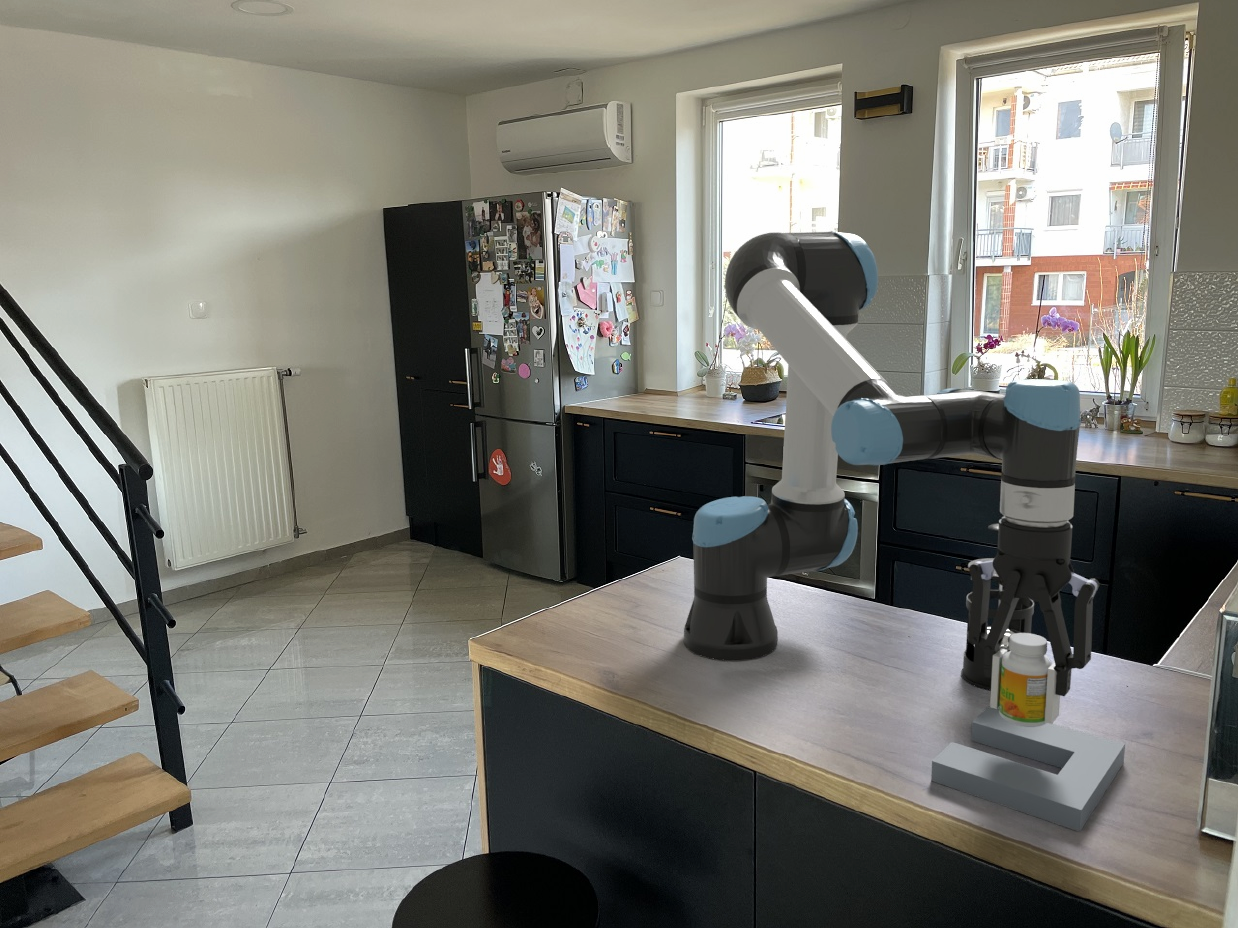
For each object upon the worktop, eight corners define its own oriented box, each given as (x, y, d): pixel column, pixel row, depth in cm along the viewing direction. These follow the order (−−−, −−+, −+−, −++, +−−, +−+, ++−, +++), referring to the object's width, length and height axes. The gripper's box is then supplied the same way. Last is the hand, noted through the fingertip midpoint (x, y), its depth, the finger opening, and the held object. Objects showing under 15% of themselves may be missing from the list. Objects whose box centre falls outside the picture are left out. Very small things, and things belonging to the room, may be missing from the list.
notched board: (931, 780, 106) (932, 760, 105) (987, 723, 119) (988, 705, 118) (1079, 831, 95) (1081, 810, 95) (1123, 762, 109) (1125, 743, 108)
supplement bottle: (990, 708, 109) (994, 631, 107) (1033, 705, 109) (1038, 628, 107) (1013, 729, 104) (1017, 649, 102) (1058, 726, 104) (1063, 646, 102)
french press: (1004, 699, 125) (1014, 539, 121) (945, 677, 133) (952, 525, 129) (1050, 677, 132) (1060, 523, 128) (991, 657, 140) (999, 511, 135)
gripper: (941, 513, 105) (934, 700, 110) (1117, 538, 93) (1101, 747, 98) (966, 501, 111) (958, 680, 115) (1135, 523, 99) (1119, 722, 103)
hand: (1024, 710), depth 106 cm, fingers closed on supplement bottle, 5 cm apart
